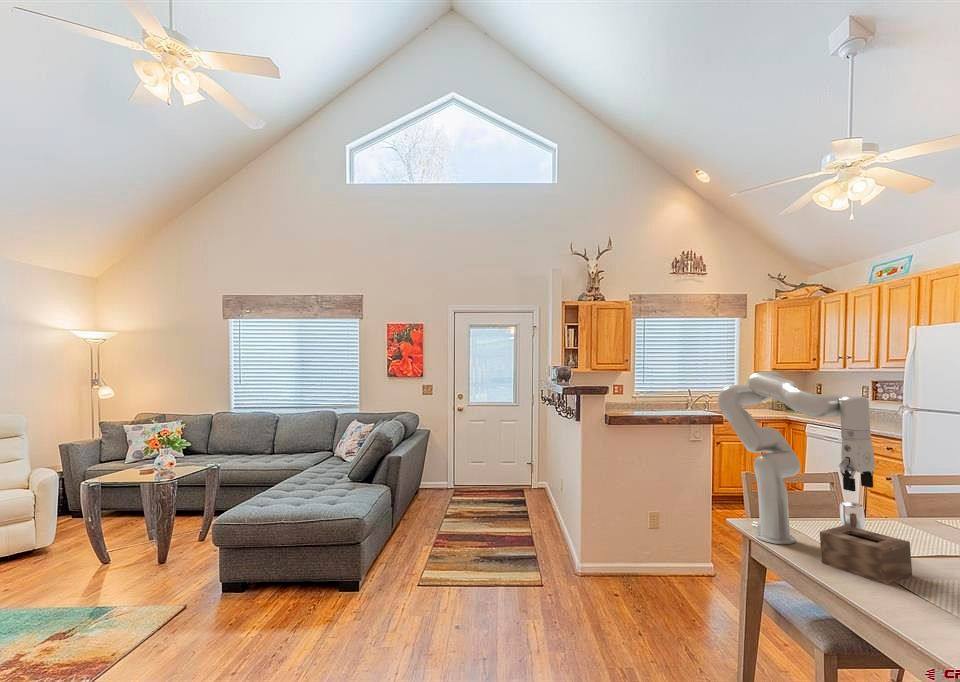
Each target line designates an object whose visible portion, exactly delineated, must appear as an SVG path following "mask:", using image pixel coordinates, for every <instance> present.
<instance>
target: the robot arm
mask: <svg viewBox="0 0 960 682" xmlns="http://www.w3.org/2000/svg"><path fill="white" fill-rule="evenodd" d="M717 398H718V399H717V401H718V402H717V404H718V408H719V410H720V413H722V414H721V415H723V416H724V418H725V419H726V420H727V422H728V423H729V424H730V426H731V427H732V429H733V431H734V432H735V434H736V436H737V437H738V439H739V440H740V442H741V443H742V445H743V446H744V448H745V450H747V451H748V452H749V453H754V454H757V453H758V454H759V453H761V454H759V455H758V456H757V457H756V458H755V459H754V461H753V470H754V474H755V479H756V484H757V495H758V497H757V498H758V500H757V501H758V512H759V513H758V515H759V517H758V518H759V522H758V521H755V520H753V521H752V523H751V528H753V529H757V531H756V532H755V537H756V538H757V539H758V540H760V541H762V542H765V543H771V544H776V545H792V544H795V543H796V538H795V536H794V535H791V530H790V528H791V527H790V513H789V497H788V489H787V486H786V484H785V482H784V480H783V479H784V478H785V479H786V478H790V477H794V476H796V475H798V474H799V473H800V471H801V468H802V467H801V461H800V459H799V457H798V455H797V454H796V453H795V451H794V450H793V448H792V447H791V445H790V444H789V442H788V441H787V440H786V438H785V437H784V435H783V434H782V433H781V432H780V431H779V430H777V429H776V428H774V427H772V426H762V427H761V426H760V425H759V424H758V423H757V421H755V419H754V417H753V416H752V415H751V413H749V412H748V411H747V410H746V409H744V408H743V406H746V407H747V406H755V405H759V404H761V403H763V402H765V401H768V400H769V399H772V400H775V401H778V402H781V403H783V404H784V405H785V406H787V407H788V408H789V409H791V410H793V411H795V412H797V413H799V414H804V415H807V416H809V417H813V418H819V419H820V418H822V419H823V418H834V417H839V418H840V433H841V435H840V436H841V439H842V441H841V454H840V455H841V462H840V463H839V465H838V467H839V470H840V473H841V477H842V486H843V490H844V491H850V492H856V478H854V477H855V475H856V473H860V486H862V487H864V488H865V487H866V488H874V470H875V468H876V464H875V463H876V459H875V453H874V446H873V443H872V436H871V435H872V433H871V431H872V430H871V415H870V414H871V412H870V401H869V399H868V398H867V397H865V396H860V395H847V396H846V395H842V394H835V393H829V394H828V393H827V394H813V393H810V392H807V391H803V390H801V389H799V386H798V383H796V382H795V381H792V380H790V379H786V378H785V376H784V375H782V374H781V373H779V372H777V371H758V372H754V373H752V374H751V375H750V376H749V377H748V379H747V384H733V385H728V386H725V387H723V388H722V389H721V390H720V392H719V394H718V397H717Z"/></svg>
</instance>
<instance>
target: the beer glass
mask: <svg viewBox="0 0 960 682" xmlns="http://www.w3.org/2000/svg"><path fill="white" fill-rule="evenodd" d="M839 518H840V523H841V526H843V525H847V526H850V527H854V528H858V529H862V530H865V525H866V524H865V523H866V522H865V521H866V516H865V509H864V505H863V504H861V503H859V502H854V501H840V502H839Z"/></svg>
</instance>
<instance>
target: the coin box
mask: <svg viewBox="0 0 960 682" xmlns="http://www.w3.org/2000/svg"><path fill="white" fill-rule="evenodd" d="M819 543H820V557H821V559H820V561H821V564H824V565H828V566H830V567H833V568H836V569H840V570H842V571H845V572H849V573H851V574H853V575H858V576H860V577H863V578H866V579H869V580H872V581H875V582H878V583H881V584H884V585H890V584H892V583H895V582H897V581H900V580H903V579H905V578H908V577H911V576H913V569H912V568H913V567H912V566H913V565H912V552H911V543H910V541H909V540H904V539H900V538H897V537H892V536H889V535H885V534H881V533H876V532H873V531H869V530H865V529H864V530H862V529H858V528H854V527H850V526H847V525H843V526H842V525H840V526H837V527H832V528H828V529H825V530H821V531H819Z"/></svg>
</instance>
